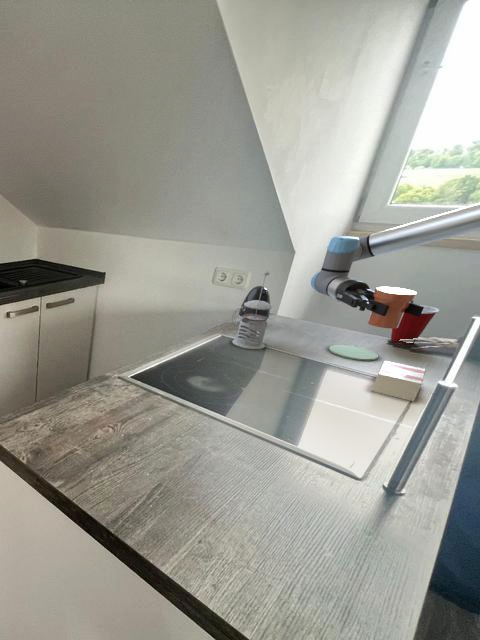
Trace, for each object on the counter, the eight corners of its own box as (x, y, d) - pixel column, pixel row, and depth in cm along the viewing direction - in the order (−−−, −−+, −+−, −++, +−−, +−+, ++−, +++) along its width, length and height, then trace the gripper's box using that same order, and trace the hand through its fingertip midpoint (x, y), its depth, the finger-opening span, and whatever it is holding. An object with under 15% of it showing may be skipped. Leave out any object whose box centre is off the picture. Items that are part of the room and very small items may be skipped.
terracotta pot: (390, 321, 114) (404, 287, 110) (410, 330, 107) (425, 295, 103) (356, 319, 116) (368, 286, 112) (373, 328, 109) (387, 293, 105)
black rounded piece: (241, 328, 149) (250, 289, 142) (232, 319, 158) (241, 282, 152) (271, 329, 146) (282, 289, 140) (260, 320, 156) (270, 283, 150)
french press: (258, 351, 128) (278, 275, 118) (221, 342, 136) (237, 270, 126) (269, 344, 133) (289, 271, 123) (234, 335, 142) (250, 266, 132)
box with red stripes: (377, 376, 110) (384, 360, 108) (418, 385, 104) (425, 369, 102) (371, 390, 102) (378, 373, 100) (413, 401, 97) (422, 383, 95)
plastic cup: (381, 333, 140) (394, 300, 135) (424, 340, 133) (439, 306, 128) (378, 341, 133) (392, 307, 128) (423, 349, 126) (439, 313, 121)
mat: (364, 347, 129) (364, 346, 128) (386, 361, 118) (387, 360, 118) (321, 344, 132) (322, 343, 131) (340, 358, 121) (340, 357, 121)
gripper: (380, 302, 125) (440, 325, 105) (310, 301, 129) (355, 323, 108) (388, 279, 122) (453, 298, 102) (317, 279, 126) (365, 297, 105)
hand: (402, 311), depth 105 cm, fingers closed on terracotta pot, 7 cm apart
